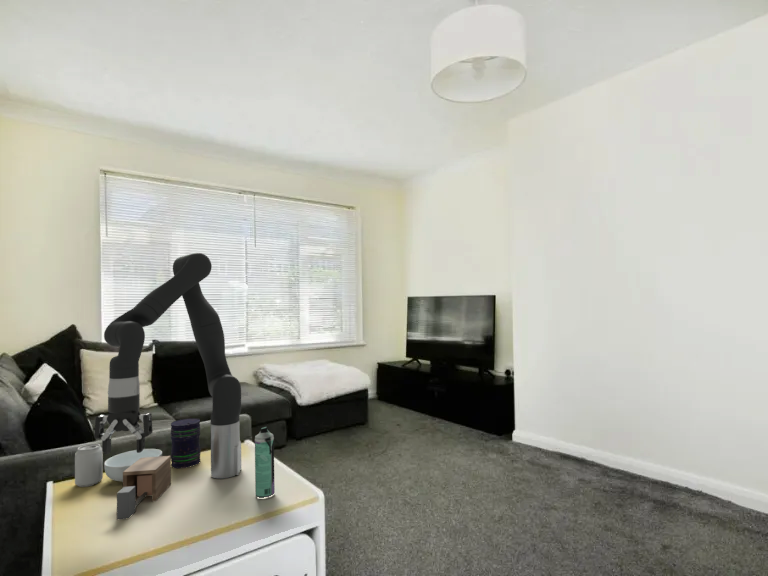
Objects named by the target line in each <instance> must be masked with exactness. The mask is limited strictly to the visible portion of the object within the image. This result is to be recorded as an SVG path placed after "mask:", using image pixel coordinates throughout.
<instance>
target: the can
mask: <svg viewBox="0 0 768 576" xmlns="http://www.w3.org/2000/svg"><path fill="white" fill-rule="evenodd" d="M103 453H104V452H103V451H102V446H101V443H89V444H84V445H81V446H78V447H77V451H76V452H75V454H74V484H75V485H76V486H77V487H79V488H87V487H91V486H95V485H96V484H99V483H100V482H101V481H102V480H103V477H104V474H103V471H104V467H103V465H104V462H103V460H104V459H103V458H104V455H103ZM98 482H99V483H98ZM94 484H95V485H94Z"/></svg>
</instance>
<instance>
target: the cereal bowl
mask: <svg viewBox="0 0 768 576" xmlns="http://www.w3.org/2000/svg"><path fill="white" fill-rule="evenodd" d="M160 456H163V451H162V450H161V449H158V448H157V449H156V448H144V449H143V451H142V452H140V453H137V449H134V450H129V451H125V452H122V453H118V454H116V455H113V456H112V457H111V456H110V457H109V458H107V459H106V460H105V461H104V462H103V465H104V467H103V470H104V472H105V474H106V476H107V478H109V479H110V480H112V481H117V482H122V483H123V472H124V471H125V470H126V469H127V468H129V467H130V466H131V465H132V464H134V463H135V462H136V461H137V460H139V459H140V458H144V457H160Z"/></svg>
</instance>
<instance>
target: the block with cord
mask: <svg viewBox="0 0 768 576" xmlns="http://www.w3.org/2000/svg"><path fill="white" fill-rule="evenodd" d="M136 495H137V497H138V498H137V499H136ZM148 496H152V474H139V475H138V476H137V494H136V492H135V486H129V487H123V486H122V488H121V489H120V490H118V492H117V493H116V520H117V519H119V520H127V519H126V518H129V517H130V516H131V515H132V514H133V513H134V512H135V511H136V507H137V506H138V505H139V504H140V503H141V502H142V501H143V499H145V498H146V497H148ZM135 513H136V512H135ZM135 513H134V514H135ZM134 514H133V515H134ZM133 515H132V516H133ZM132 516H131V517H132ZM131 517H130V518H131ZM130 518H129V519H130Z"/></svg>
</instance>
